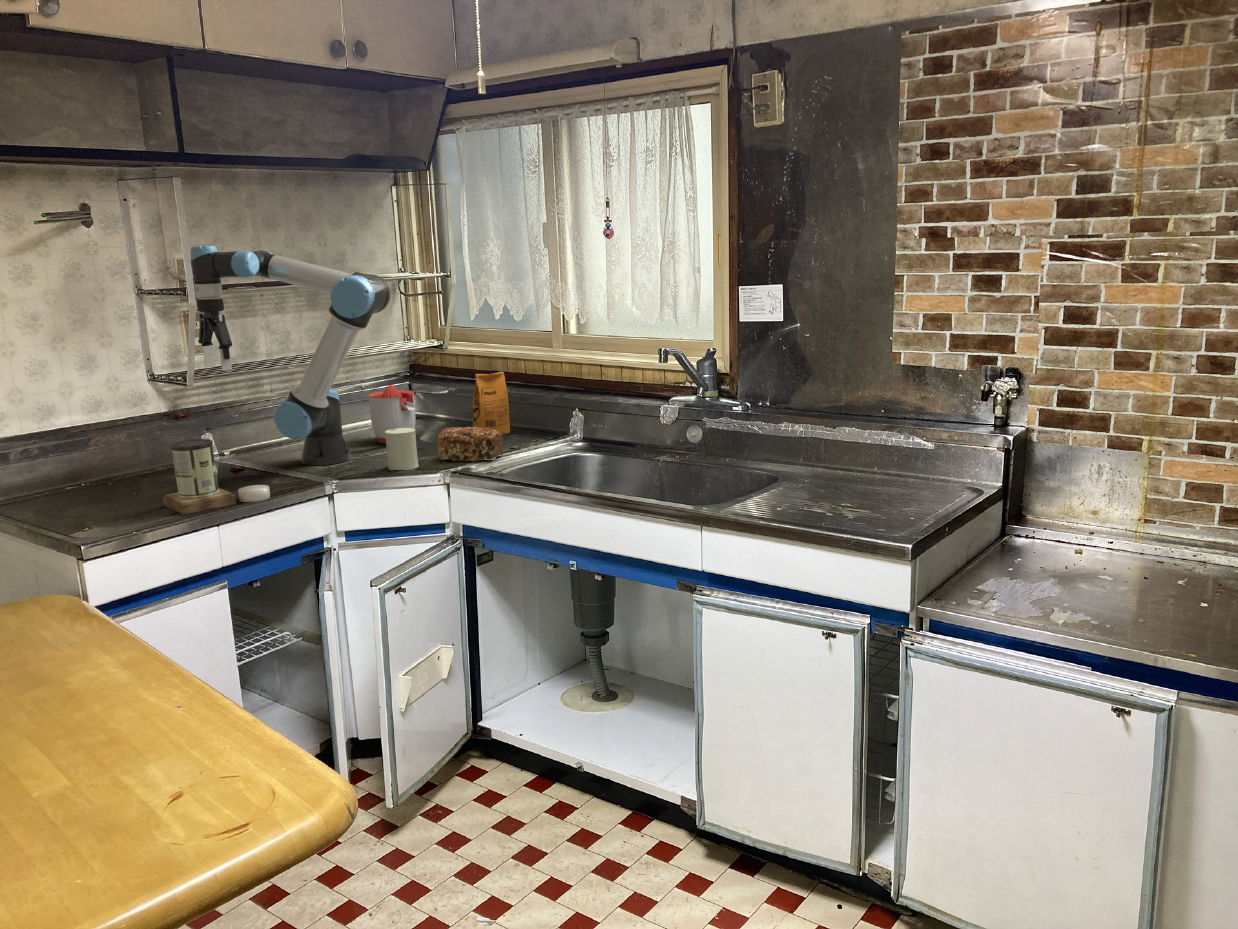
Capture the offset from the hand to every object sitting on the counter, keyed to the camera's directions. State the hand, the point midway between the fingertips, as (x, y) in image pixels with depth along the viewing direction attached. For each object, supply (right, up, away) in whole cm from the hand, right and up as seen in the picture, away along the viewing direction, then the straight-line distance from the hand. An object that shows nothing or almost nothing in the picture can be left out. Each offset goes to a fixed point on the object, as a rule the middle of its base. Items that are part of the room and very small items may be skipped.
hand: (218, 368), depth 296 cm
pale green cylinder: (+56, -30, +2) cm, 64 cm away
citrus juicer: (+45, -21, +42) cm, 65 cm away
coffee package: (+77, -19, +50) cm, 94 cm away
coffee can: (+9, -37, -35) cm, 52 cm away
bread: (+76, -27, +12) cm, 81 cm away
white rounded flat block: (+22, -39, -30) cm, 54 cm away
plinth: (+9, -40, -35) cm, 54 cm away
